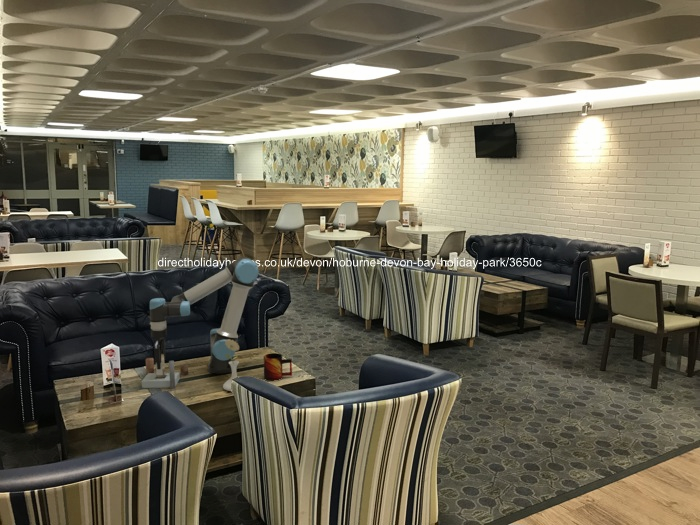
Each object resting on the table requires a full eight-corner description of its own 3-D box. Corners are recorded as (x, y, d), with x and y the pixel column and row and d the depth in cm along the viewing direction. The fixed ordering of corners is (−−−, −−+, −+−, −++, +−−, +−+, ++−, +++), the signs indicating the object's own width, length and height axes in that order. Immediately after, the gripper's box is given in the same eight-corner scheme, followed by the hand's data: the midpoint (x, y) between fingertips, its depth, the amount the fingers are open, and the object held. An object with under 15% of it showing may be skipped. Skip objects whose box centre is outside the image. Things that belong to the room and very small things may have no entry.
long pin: (165, 379, 288) (164, 353, 286) (164, 382, 284) (162, 355, 282) (158, 380, 288) (156, 353, 286) (156, 382, 284) (154, 356, 282)
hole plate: (181, 378, 293) (180, 353, 291) (174, 389, 278) (173, 362, 276) (148, 379, 291) (147, 353, 289) (140, 390, 277) (138, 362, 275)
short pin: (189, 373, 302) (188, 364, 301) (187, 375, 298) (187, 366, 297) (181, 373, 301) (181, 364, 301) (179, 375, 297) (179, 366, 297)
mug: (292, 377, 295) (292, 355, 293) (268, 382, 288) (268, 360, 286) (284, 372, 303) (284, 351, 302) (261, 376, 296) (260, 355, 294)
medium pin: (155, 374, 300) (154, 357, 299) (153, 376, 296) (152, 360, 295) (147, 374, 300) (146, 358, 299) (145, 376, 296) (144, 360, 295)
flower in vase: (250, 389, 278) (249, 340, 275) (231, 394, 271) (229, 345, 267) (236, 382, 288) (234, 335, 284) (216, 388, 280) (215, 339, 276)
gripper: (155, 324, 290) (157, 368, 293) (146, 333, 273) (148, 379, 277) (170, 324, 291) (172, 367, 294) (161, 333, 274) (164, 378, 277)
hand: (160, 373), depth 285 cm, fingers closed on long pin, 4 cm apart
